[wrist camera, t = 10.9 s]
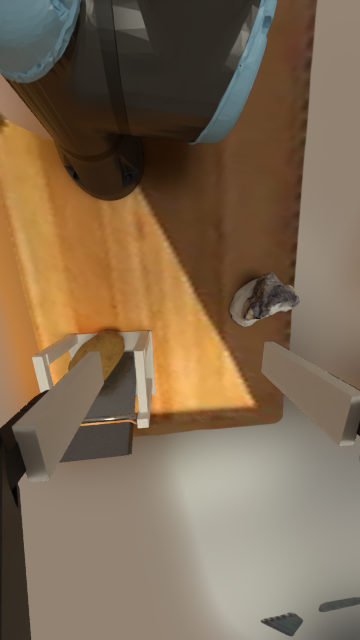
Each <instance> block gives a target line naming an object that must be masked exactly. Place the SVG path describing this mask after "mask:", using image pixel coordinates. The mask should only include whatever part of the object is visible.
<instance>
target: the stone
mask: <svg viewBox="0 0 360 640" xmlns="http://www.w3.org/2000/svg"><path fill="white" fill-rule="evenodd" d="M298 303H299V297H298V296H297V295H296V292H295V290H294V288H293V287H292V286H290V285H288V284H282V283H281V282H280V281H279V279H278V278H277V277H276V275H275V274H274V273H273V272H269V273H266V274H263V275H262V276H261V277H260V278H259V279H255V280H253V281H251V282H249V283H247V284H246V285H244V286H243V287H241V288H240V289H239V290H238V291H237V292H236V293H235V295H234V298H233V300H232V303H231V306H230V309H229V312H230V313H231V315H232V319H233V320H234V321H236V322H237V323H238V324H240V325H242V326H244V327H247V326H250V325H252V324H253V323H254V322H255V321H257V320H260V319H262V318H265V317H267V316H269V315H272V314H274V313H276V312H280V313H283V312H286V311H288V310H291V309H293V308H295V307H296V306H297V305H298Z"/></svg>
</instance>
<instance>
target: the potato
mask: <svg viewBox="0 0 360 640" xmlns="http://www.w3.org/2000/svg"><path fill="white" fill-rule="evenodd" d="M124 348H125V344H124V339H123V337H122V336H121V335H120V334H118V333H117V332H116V331H110V330H105V331H102V332H100V333H98V334H97V335H95V336H94V337H92V338H91V339H90V340H88V341H87V342H85V343H84V344H82V345H81V347H80V348H79V349H78V350H77V352H76V353H75V355H74V357H73V358H72V360H71V361H70V364H69V368H68V369H69V371H70V370H71V369H72V368H73V367H74V366H75V365H76V364H77V363H78V362H79V361H80V360H81V359H82V358H83V357H84V356H85V355H86V354H87V353H88V352H94V351H100V357H101V365H102V372H103V379H104V380H105V379H106V378H107V377H108V376H109V375H110V373H111V372H112V370H113V369H114V367H115V366H116V365H117V363H118V362H119V360H120V359H121V357H122V354H123V352H124Z"/></svg>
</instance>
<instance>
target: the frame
mask: <svg viewBox="0 0 360 640" xmlns="http://www.w3.org/2000/svg"><path fill="white" fill-rule="evenodd" d="M117 333H118V334H120V335H121V336H122V337H123V339H124V344H125V348H124V352H133V351H134V357H135V368H136V379H137V381H136V396H138V401H139V412H138V418H137V423H138V428H147V427H149V419H150V409H151V398H152V394H155V377H154V361H153V345H152V331H131V332H117ZM97 334H98V333H87V334H67V335H66V337H64V338H63V339H61V340H59V341H57V342H56V343H54V344H52V345H51V346H49V347H47V348H45V349H44V350H42V351H40V352H39V353H37V354H35V356H33V357H32V360H33V364H34V368H35V372H36V375H37V380H38V384H39V388H40V392H41V393H42V392H43V391H45V390H50V389H51V388H52V387H53V383H52V379H51V374H50V370H49V365H48V364H50V363H52V362H53V361H55V360H56V359H57V358H59V357H60V356H61V355H63V354H64V353H65V352H67V351H68V350H69V353H70V358H71V360H72V358H73V357H74V355H75V353H76V352H77V350H78V349H79V348H80V347H81V345H82V344H84V343H85V342H87V341H88V340H90V339H91V338H92V337H94V336H95V335H97Z"/></svg>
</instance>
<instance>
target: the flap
mask: <svg viewBox="0 0 360 640" xmlns="http://www.w3.org/2000/svg"><path fill="white" fill-rule="evenodd" d="M136 381H137V379H136V368H135V357H134V351H133V352H123V354H122V357H121V359H120V360H119V362H118V363H117V365H116V366H115V367H114V369H113V370H112V372H111V373H110V375H109V376H108V377H107V378H106V379H105V380H104V384H103V386H102V388H101V390H100V392H99V393H98V395H97V397H96V399H95V400H94V402H93V404H92V406H91V407H90V409H89V411H88V413H87V414H86V416H85V418H84V420H83V421H82V423H81V424H85V423H96V422H107V421H118V420H129V419H137V418H138V413H134V412H135V397H136ZM133 426H134V423H132V422H121V423H110V424H100V425H89V426H80V427H79V428H78V430H77V432H76V434H75V435H74V437H73V439H72V441H71V442H70V444H69V446H68V448H67V449H66V451H65V453H64V455H63V457H62V458H61V460H60V462H69V461H78V460H87V459H96V458H106V457H114V456H124V455H129V454H132V441H133ZM60 462H59V463H60Z"/></svg>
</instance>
